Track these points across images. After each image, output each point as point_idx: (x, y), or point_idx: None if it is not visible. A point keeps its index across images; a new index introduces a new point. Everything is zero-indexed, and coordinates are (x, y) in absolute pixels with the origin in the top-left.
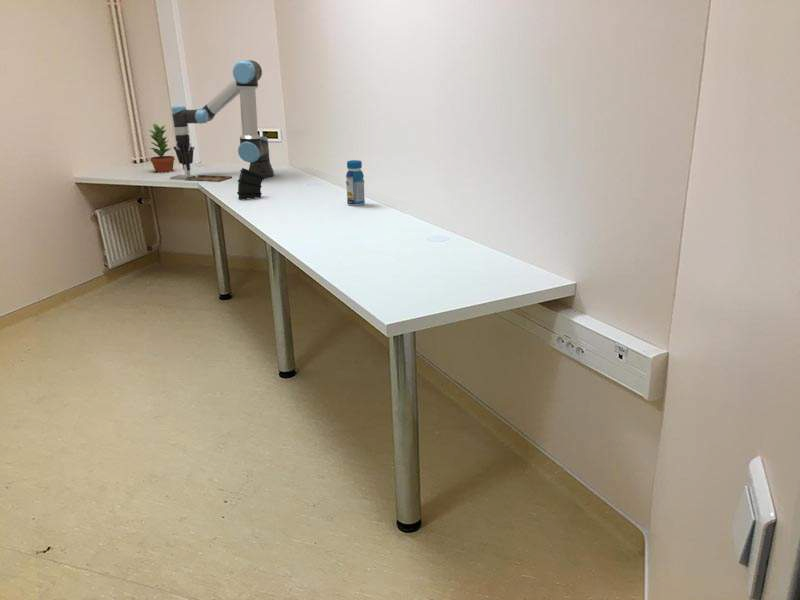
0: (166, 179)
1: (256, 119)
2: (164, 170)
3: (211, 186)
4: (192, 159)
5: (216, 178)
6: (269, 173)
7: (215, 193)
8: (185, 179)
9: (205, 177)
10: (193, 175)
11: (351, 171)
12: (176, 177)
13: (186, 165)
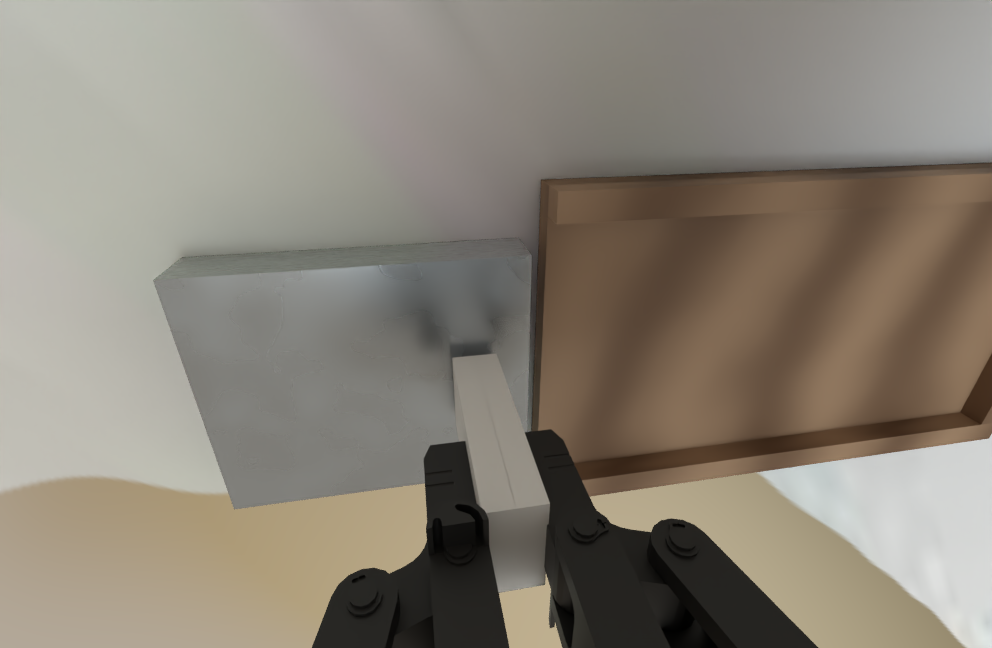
0: (57, 416)
1: None
2: None
3: (894, 522)
4: (778, 621)
5: (897, 258)
6: None
7: (964, 643)
8: None
9: (706, 228)
10: (491, 262)
11: None
12: (348, 485)
13: (542, 557)
